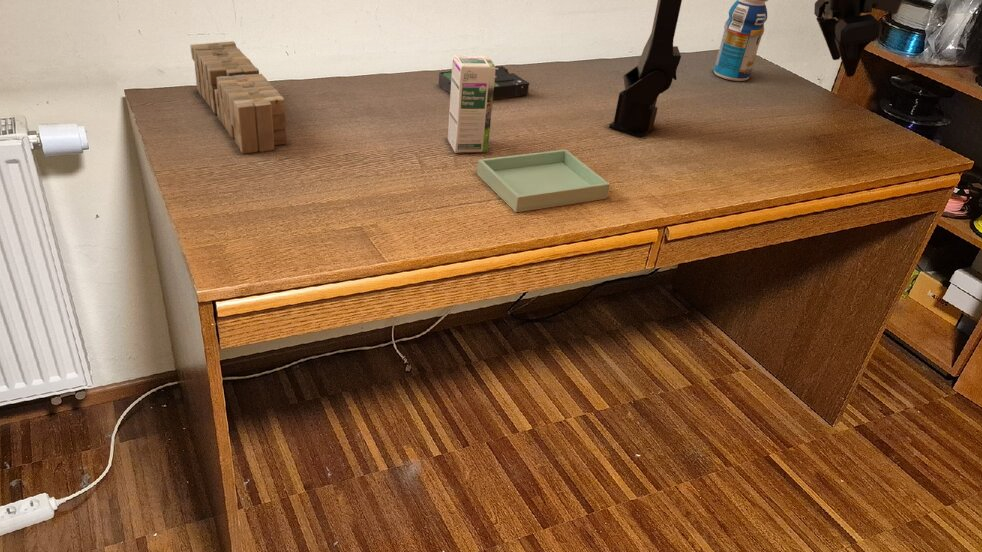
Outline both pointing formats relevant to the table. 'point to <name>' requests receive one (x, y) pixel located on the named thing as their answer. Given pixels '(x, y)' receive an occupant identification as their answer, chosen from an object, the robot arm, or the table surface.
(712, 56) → the table surface
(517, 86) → the disk drive
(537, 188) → the tray
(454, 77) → the syrup box
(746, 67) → the beverage bottle
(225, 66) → the block tower
